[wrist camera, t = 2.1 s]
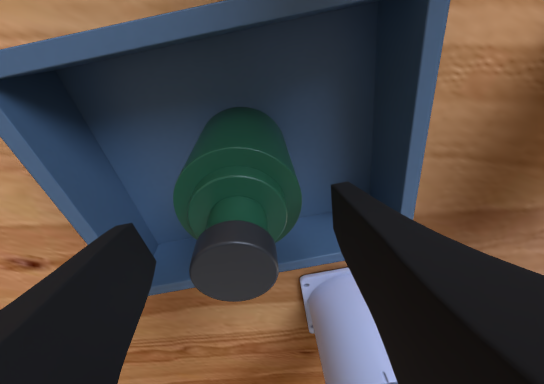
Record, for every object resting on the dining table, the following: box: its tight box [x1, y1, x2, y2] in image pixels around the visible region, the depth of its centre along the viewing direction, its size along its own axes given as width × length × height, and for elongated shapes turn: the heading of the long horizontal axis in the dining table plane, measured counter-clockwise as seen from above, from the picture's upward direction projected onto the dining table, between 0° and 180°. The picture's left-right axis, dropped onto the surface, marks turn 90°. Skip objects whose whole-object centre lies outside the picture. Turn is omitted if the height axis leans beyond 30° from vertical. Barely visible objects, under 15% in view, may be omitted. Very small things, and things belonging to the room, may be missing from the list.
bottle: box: [173, 107, 302, 302], centre depth 11 cm, size 5×5×9 cm
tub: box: [0, 0, 450, 296], centre depth 14 cm, size 18×14×5 cm
